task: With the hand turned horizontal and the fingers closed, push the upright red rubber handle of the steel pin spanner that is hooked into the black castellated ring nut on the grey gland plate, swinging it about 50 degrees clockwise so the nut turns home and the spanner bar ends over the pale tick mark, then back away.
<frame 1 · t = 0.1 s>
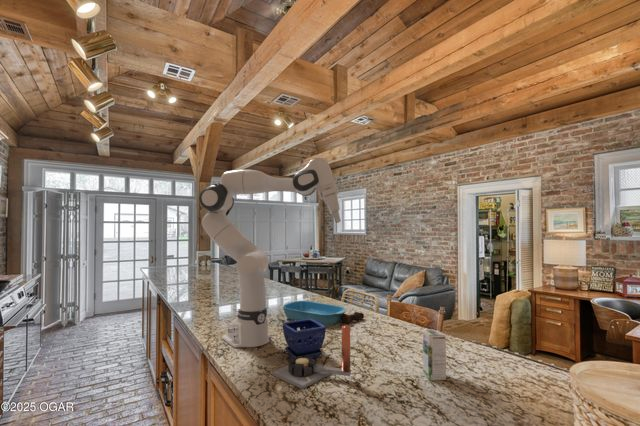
hand: (338, 222, 139), 52 cm above the worktop, tool tilted 20°, fingers open, 8 cm apart
brown pine cone: (353, 322, 169), on the worktop
syrup box: (434, 377, 105), on the worktop
nut with spanner: (319, 348, 105), point 9 cm above the worktop, hinge at 25.0°
casserole dish: (313, 319, 173), on the worktop
flower pot: (303, 356, 122), on the worktop
gland plate: (302, 374, 106), on the worktop
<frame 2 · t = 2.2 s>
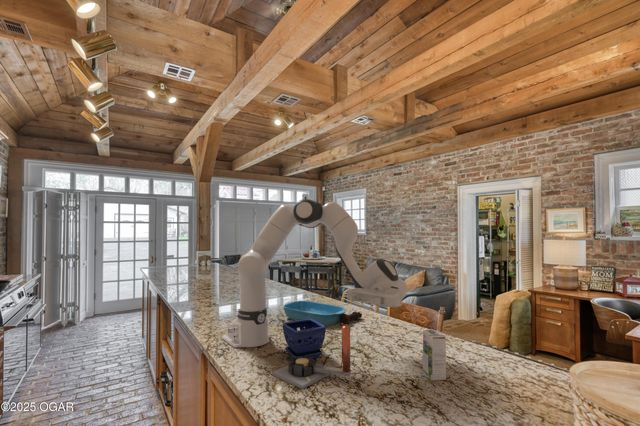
hand: (360, 300, 110), 24 cm above the worktop, tool horizontal, fingers open, 6 cm apart
brown pine cone: (352, 321, 169), on the worktop, touching casserole dish
casserole dish: (314, 319, 173), on the worktop, touching brown pine cone
everything else where it was.
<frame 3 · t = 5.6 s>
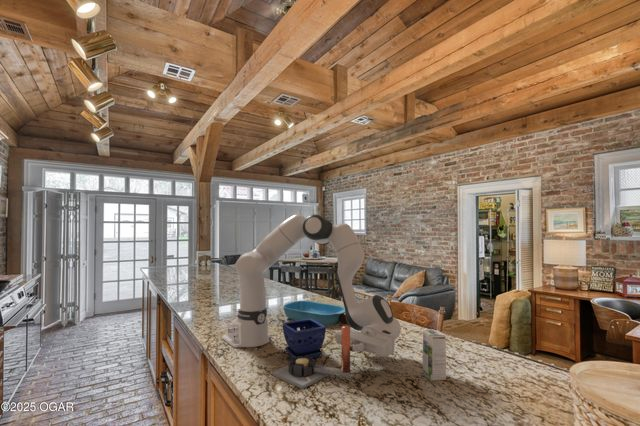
hand: (350, 348, 103), 10 cm above the worktop, tool horizontal, fingers closed
brown pine cone: (350, 321, 170), on the worktop
nut with spanner: (319, 348, 105), point 9 cm above the worktop, hinge at 24.1°, touching gripper
casserole dish: (314, 319, 173), on the worktop
everything else where it was.
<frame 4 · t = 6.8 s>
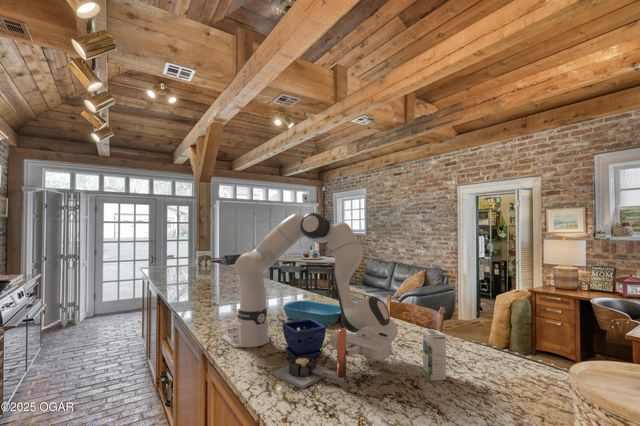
hand: (345, 352, 100), 10 cm above the worktop, tool horizontal, fingers closed, pressing on nut with spanner
nut with spanner: (317, 350, 104), point 9 cm above the worktop, hinge at 9.5°, touching gripper
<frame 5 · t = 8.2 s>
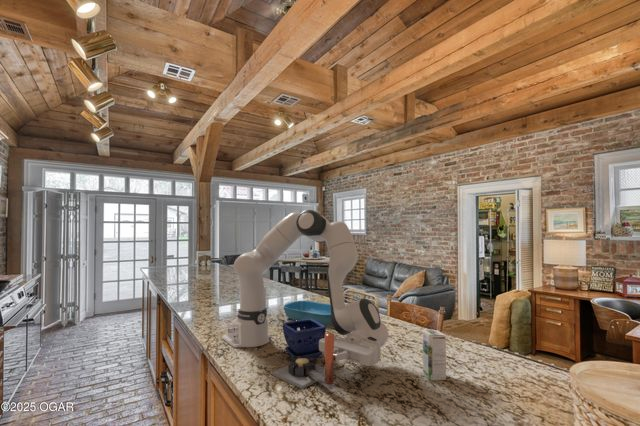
hand: (332, 357, 96), 10 cm above the worktop, tool horizontal, fingers closed, pressing on nut with spanner
nut with spanner: (312, 351, 102), point 9 cm above the worktop, hinge at -13.1°, touching gripper
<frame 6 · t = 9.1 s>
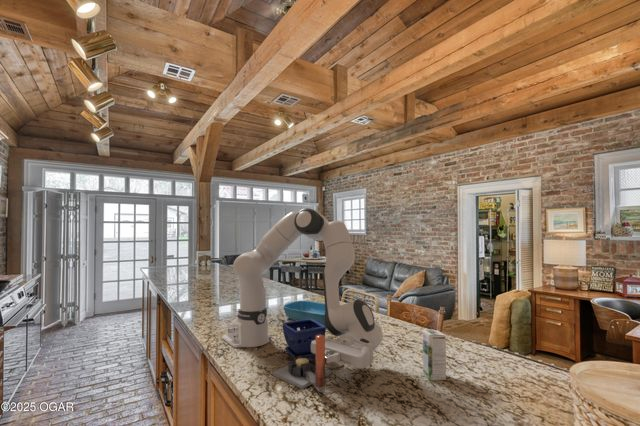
hand: (323, 359, 94), 10 cm above the worktop, tool horizontal, fingers closed, pressing on nut with spanner
nut with spanner: (308, 352, 101), point 9 cm above the worktop, hinge at -25.1°, touching gripper
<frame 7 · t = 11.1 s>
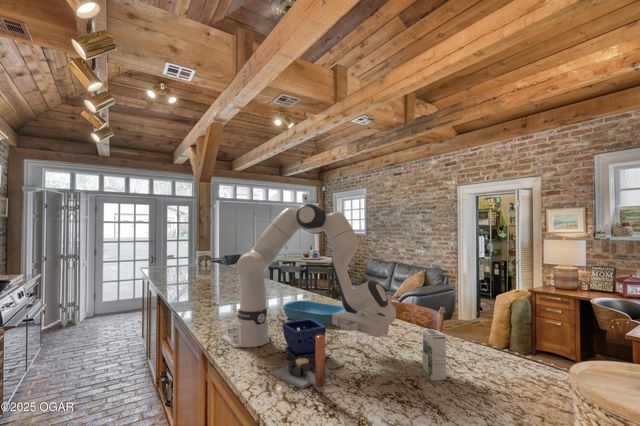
hand: (344, 328, 106), 16 cm above the worktop, tool horizontal, fingers closed
nut with spanner: (308, 352, 101), point 9 cm above the worktop, hinge at -25.2°
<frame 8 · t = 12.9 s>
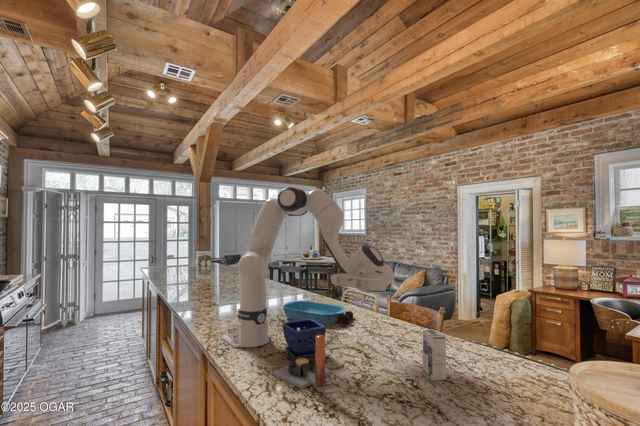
hand: (344, 283, 109), 30 cm above the worktop, tool horizontal, fingers closed
at the end: nut with spanner at -25° (first picture: +25°); the gripper is holding nothing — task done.
